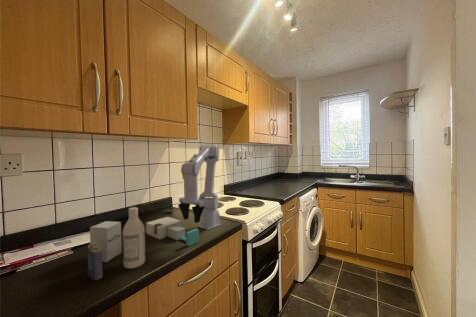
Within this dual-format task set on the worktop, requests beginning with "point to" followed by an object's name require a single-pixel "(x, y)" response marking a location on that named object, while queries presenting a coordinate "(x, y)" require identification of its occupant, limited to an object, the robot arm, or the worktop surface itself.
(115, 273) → the worktop surface
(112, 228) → the supplement box
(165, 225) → the housing
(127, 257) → the bath foam
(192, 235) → the cartridge
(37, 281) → the worktop surface
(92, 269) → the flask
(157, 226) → the plunger
